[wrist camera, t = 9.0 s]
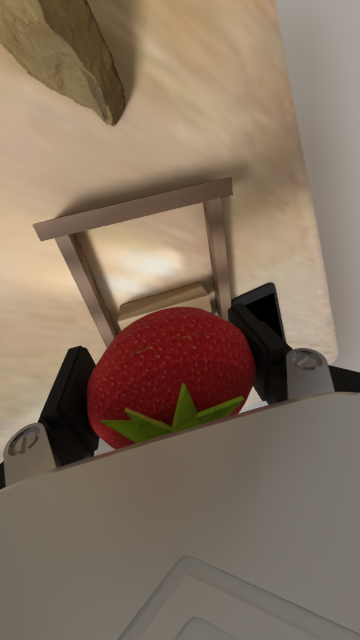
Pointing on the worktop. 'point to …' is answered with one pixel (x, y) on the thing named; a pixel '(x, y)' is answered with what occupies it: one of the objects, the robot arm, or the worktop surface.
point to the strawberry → (169, 376)
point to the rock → (64, 51)
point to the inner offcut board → (164, 303)
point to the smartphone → (263, 306)
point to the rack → (132, 209)
